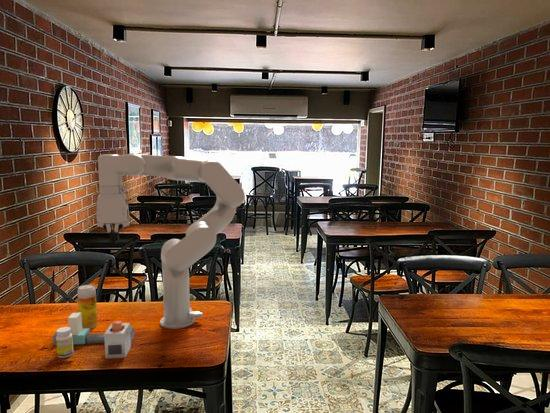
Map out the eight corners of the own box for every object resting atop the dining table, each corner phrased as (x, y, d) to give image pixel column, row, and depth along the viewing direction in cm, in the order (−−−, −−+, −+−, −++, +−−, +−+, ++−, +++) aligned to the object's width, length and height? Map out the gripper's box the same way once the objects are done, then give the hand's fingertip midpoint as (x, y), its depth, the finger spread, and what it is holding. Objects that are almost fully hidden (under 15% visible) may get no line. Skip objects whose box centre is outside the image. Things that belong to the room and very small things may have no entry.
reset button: (123, 332, 141) (123, 320, 140) (121, 336, 138) (120, 324, 137) (114, 332, 140) (113, 320, 140) (111, 336, 137) (110, 324, 137)
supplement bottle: (60, 351, 140) (58, 326, 139) (75, 350, 141) (74, 325, 140) (54, 358, 136) (52, 332, 134) (70, 357, 136) (68, 332, 135)
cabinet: (131, 345, 144) (129, 322, 143) (125, 357, 136) (123, 333, 135) (112, 346, 143) (111, 323, 142) (105, 358, 135) (103, 334, 134)
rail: (134, 336, 151) (133, 326, 151) (131, 342, 146) (130, 332, 146) (59, 339, 149) (58, 329, 148) (53, 346, 144) (52, 335, 143)
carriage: (89, 336, 150) (88, 311, 149) (84, 344, 144) (82, 317, 143) (68, 337, 149) (66, 312, 148) (62, 345, 144) (60, 318, 143)
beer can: (91, 330, 156) (88, 290, 154) (76, 329, 157) (73, 289, 155) (101, 323, 162) (98, 284, 160) (86, 322, 163) (84, 283, 161)
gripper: (136, 189, 154) (138, 240, 156) (92, 189, 152) (95, 241, 155) (131, 191, 146) (134, 244, 149) (85, 191, 145) (88, 246, 147)
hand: (114, 242), depth 152 cm, fingers closed
